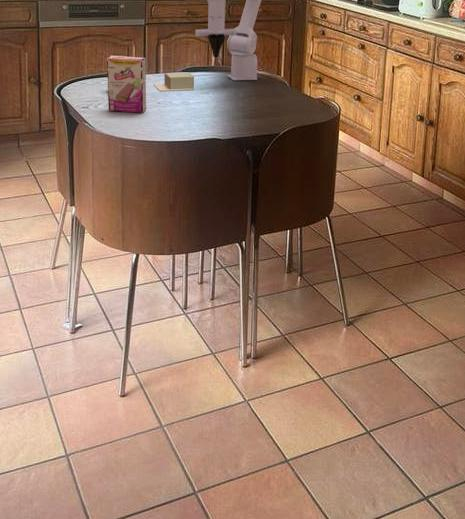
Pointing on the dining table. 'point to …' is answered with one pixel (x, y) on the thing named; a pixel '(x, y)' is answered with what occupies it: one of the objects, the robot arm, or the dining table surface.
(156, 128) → the dining table surface
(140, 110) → the candy bar box
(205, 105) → the dining table surface
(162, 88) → the mat
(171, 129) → the dining table surface
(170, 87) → the sage block
